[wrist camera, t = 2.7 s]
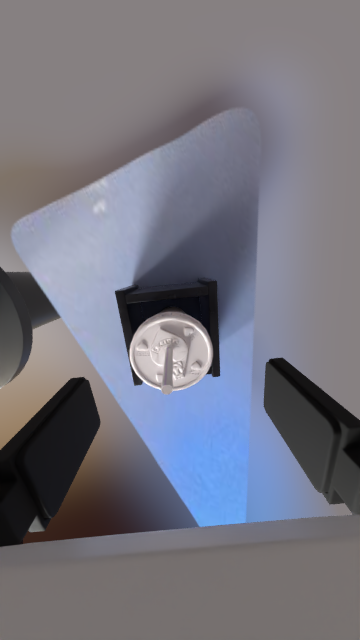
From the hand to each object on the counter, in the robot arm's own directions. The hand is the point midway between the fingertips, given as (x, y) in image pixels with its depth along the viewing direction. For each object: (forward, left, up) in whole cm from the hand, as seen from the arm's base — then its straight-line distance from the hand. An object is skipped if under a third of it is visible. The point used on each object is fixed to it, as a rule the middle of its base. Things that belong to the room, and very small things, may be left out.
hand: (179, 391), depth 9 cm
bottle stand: (0, 0, -14) cm, 14 cm away
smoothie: (0, 0, -14) cm, 14 cm away
